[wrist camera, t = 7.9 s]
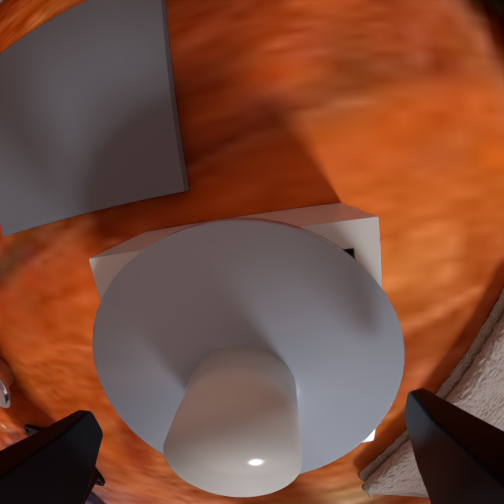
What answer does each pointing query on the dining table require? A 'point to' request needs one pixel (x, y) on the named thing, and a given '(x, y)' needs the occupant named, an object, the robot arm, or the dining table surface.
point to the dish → (311, 218)
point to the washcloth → (459, 394)
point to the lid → (247, 352)
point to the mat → (88, 114)
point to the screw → (5, 384)
